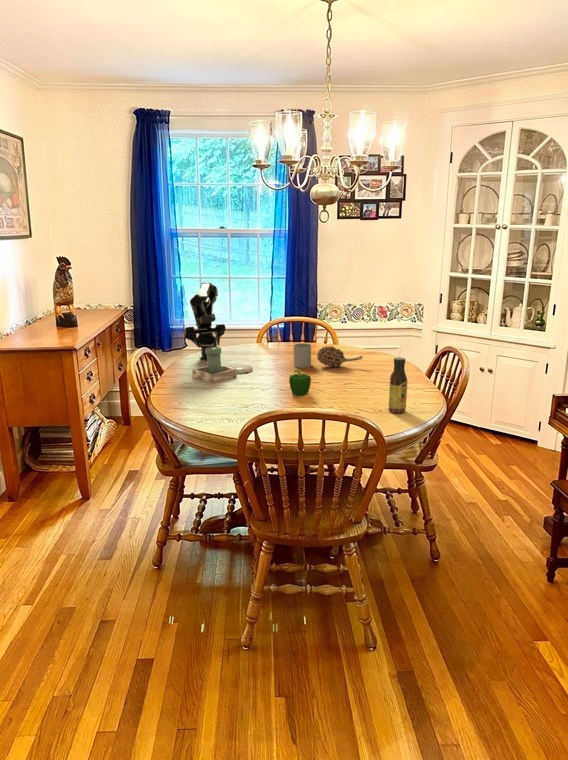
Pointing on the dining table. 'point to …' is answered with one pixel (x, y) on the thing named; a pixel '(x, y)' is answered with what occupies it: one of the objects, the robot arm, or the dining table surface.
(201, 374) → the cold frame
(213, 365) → the flower pot
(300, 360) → the cup
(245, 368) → the saucer
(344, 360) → the pine cone
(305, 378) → the bell pepper
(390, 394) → the sauce bottle
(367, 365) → the dining table surface
